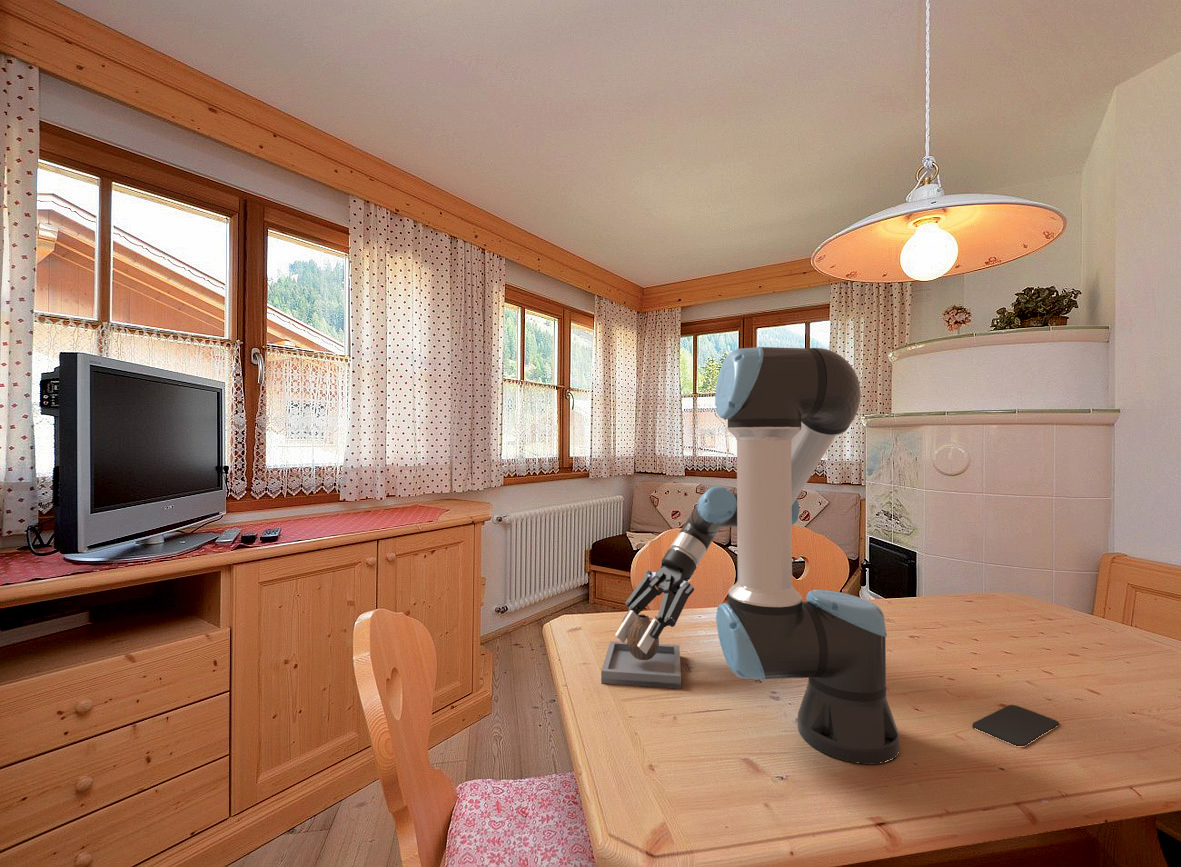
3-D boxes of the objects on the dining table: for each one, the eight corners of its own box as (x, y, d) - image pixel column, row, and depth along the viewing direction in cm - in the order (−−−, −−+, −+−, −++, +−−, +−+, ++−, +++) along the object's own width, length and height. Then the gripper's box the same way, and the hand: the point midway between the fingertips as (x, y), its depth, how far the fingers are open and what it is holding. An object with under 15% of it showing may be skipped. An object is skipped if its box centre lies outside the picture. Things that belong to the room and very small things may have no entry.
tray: (680, 688, 103) (680, 676, 103) (601, 683, 105) (601, 671, 105) (679, 656, 118) (679, 645, 119) (610, 651, 121) (610, 641, 121)
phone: (1062, 722, 89) (1021, 746, 82) (1062, 727, 89) (1021, 751, 82) (1011, 703, 96) (969, 724, 89) (1011, 707, 96) (969, 729, 89)
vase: (665, 656, 112) (665, 615, 112) (646, 666, 107) (646, 623, 107) (640, 647, 117) (639, 608, 117) (620, 657, 112) (620, 616, 112)
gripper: (724, 575, 113) (671, 669, 104) (662, 559, 129) (611, 639, 119) (707, 554, 110) (652, 649, 100) (646, 540, 126) (593, 621, 116)
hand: (630, 644), depth 110 cm, fingers closed on vase, 7 cm apart
